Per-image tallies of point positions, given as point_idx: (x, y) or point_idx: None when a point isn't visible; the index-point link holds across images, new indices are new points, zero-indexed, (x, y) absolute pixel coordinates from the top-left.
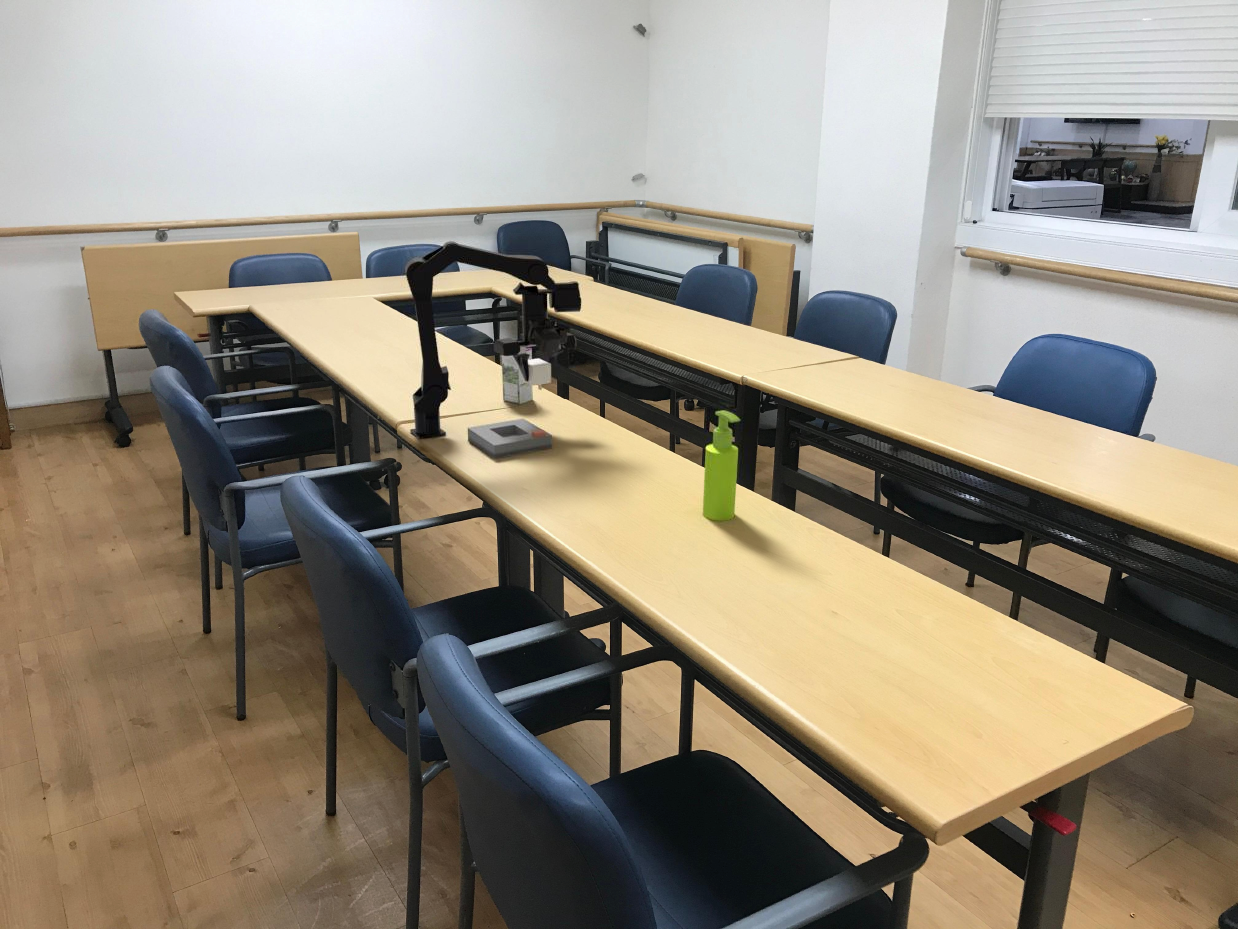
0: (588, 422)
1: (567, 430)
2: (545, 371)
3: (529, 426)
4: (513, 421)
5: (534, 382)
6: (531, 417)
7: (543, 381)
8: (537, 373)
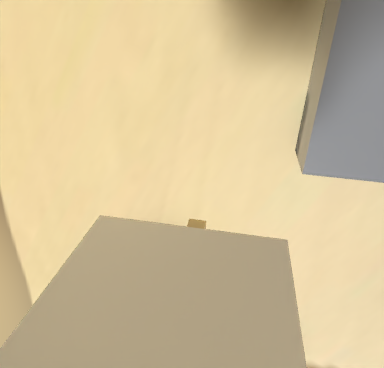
0: (16, 90)
1: (134, 46)
2: (110, 319)
3: (374, 35)
4: (375, 161)
5: (277, 256)
6: None
7: (173, 240)
8: (235, 329)
